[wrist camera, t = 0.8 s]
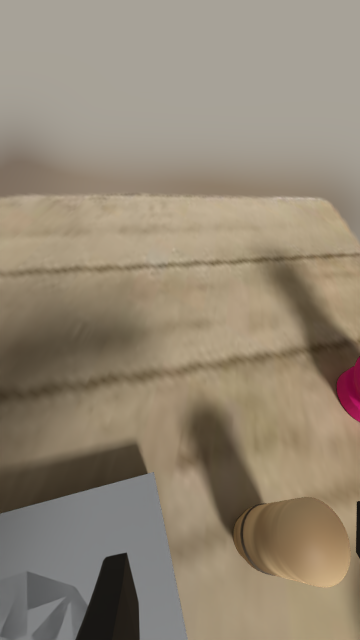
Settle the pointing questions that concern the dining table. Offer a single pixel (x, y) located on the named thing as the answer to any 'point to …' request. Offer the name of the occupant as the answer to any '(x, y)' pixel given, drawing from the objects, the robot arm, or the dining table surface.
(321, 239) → the dining table surface
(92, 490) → the grey peg hole board
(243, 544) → the oak peg
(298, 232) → the dining table surface
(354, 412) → the pepper mill
